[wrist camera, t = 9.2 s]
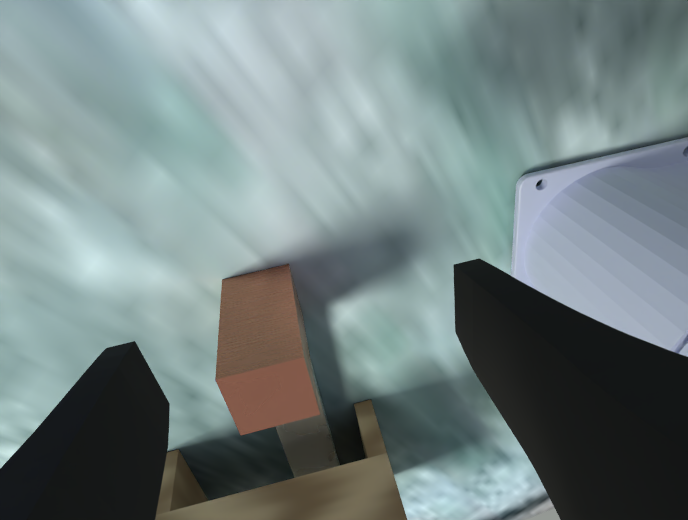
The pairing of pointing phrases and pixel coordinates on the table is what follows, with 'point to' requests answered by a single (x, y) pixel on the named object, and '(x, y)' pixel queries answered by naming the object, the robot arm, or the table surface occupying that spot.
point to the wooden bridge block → (295, 489)
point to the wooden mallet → (272, 368)
